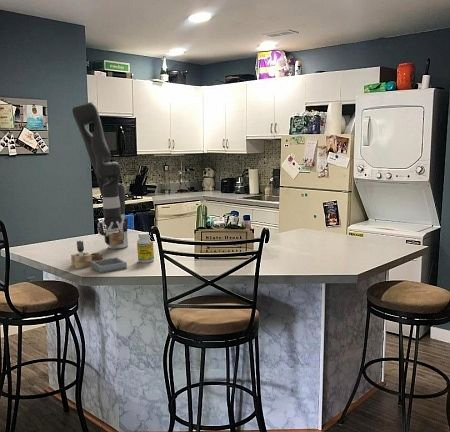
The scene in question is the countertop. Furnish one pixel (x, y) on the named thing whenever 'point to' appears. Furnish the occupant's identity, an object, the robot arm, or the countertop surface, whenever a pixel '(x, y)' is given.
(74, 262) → the block
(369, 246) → the countertop surface
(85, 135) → the robot arm
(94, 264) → the tray
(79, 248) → the pin gauge
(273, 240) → the countertop surface
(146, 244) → the supplement bottle
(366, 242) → the countertop surface
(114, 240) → the block
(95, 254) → the pin stand
